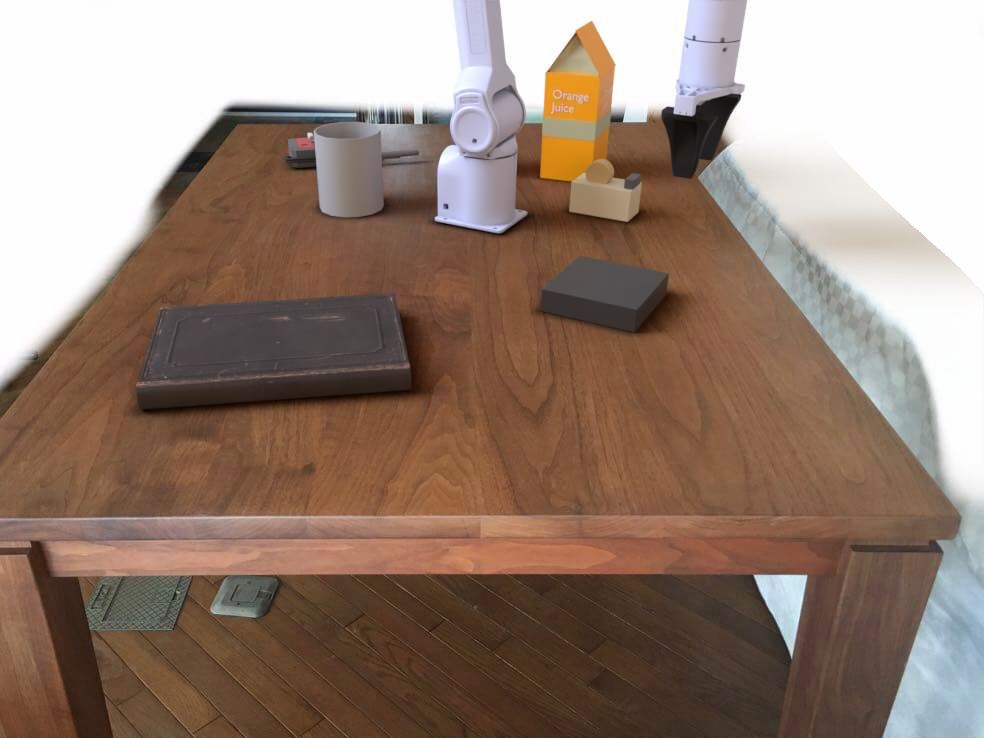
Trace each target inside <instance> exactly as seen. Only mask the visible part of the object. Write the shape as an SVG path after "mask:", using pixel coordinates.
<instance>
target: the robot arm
mask: <svg viewBox="0 0 984 738" xmlns="http://www.w3.org/2000/svg"><path fill="white" fill-rule="evenodd" d="M747 5H748V0H688V5H687V14H686V22H685V27H684V28H685V29H684V34H683V35H684V37H683V43H682V49H681V57H680V58H681V59H680V67H679V74H678V79H676V83H675V91H676V95H675V99H674V106H665V107H664V108H663V109H661V114H660V115H661V116H660V117H661V121H662V123H663V127H664V129H665V131H666V134H667V138H668V143H669V152H670V161H671V162H670V163H671V171H672V176H673V177H675V178H682V179H688V180H692V179H694V176H695V174H696V171H697V169H698V166H699V164H700V160H704V161H713V159H714V157H715V155H716V152H717V150H718V147H719V145H720V142H721V139H722V137H723V133H724V131H725V128H726V126H727V123H728V121H729V119H730V117H731V115H732V114H733V112H734V110H735V109H736V107H737V106H738V105H739V103H740V102H741V99H742V93H744V92H745V87H746V84H744V83H738V82H736V81H735V76H736V71H737V65H738V59H739V53H740V47H741V42H742V36H743V30H744V24H745V18H746V17H745V16H746V11H747ZM452 7H453V8H452V9H453V15H454V24H455V32H456V40H457V48H458V56H459V57H458V58H459V65H460V73H459V75H458V78H457V82H456V83H455V87H454V89H453V93H452V97H453V111H452V113H451V114H452V115H451V117H450V121H449V122H450V123H449V130H450V135H451V138H452V140H453V142H454V144H450V145H448V146H446V148H444V150H443V152H442V153H441V154H440V157H439V161H438V165H437V173H436V175H437V177H436V179H437V215H436V216H435V217H434V221H435V222H436V223H442V224H448V225H453V226H457V227H463V228H468V229H473V230H478V231H483V232H487V233H488V232H489V233H493V234H502V233H504V232H506V231H507V230H508V229H510V228H511V227H512V226H514V225H515V224H517V223H518V222H519V221H521V220H523V219H524V218H525V217H527V216H528V211H526V210H522V209H516V203H517V201H516V200H517V197H516V196H517V174H518V172H517V171H518V149H519V146H518V143H517V134H518V133H519V132H520V131H521V130H522V128H523V127H524V124H525V121H526V117H527V113H526V112H527V109H526V104H525V103H524V100H523V98H522V96H521V95H520V92H519V91H518V88H517V82H516V75H515V74H514V72H513V71H512V69H511V68H510V66H509V65H508V63H507V59H506V48H505V39H504V38H505V37H504V29H503V18H502V8H501V0H452Z"/></svg>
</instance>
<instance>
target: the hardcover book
mask: <svg viewBox="0 0 984 738" xmlns="http://www.w3.org/2000/svg"><path fill="white" fill-rule="evenodd" d="M403 330H404V329H403V326H402V320H401V316H400V311H399V306H398V301H397V297H396V293H395V292H392V293H390V292H389V293H374V294H373V293H372V294H358V295H357V294H356V295H340V296H326V297H325V296H323V297H309V298H294V299H293V298H291V299H277V300H261V301H260V300H259V301H243V302H227V303H210V304H194V305H192V304H191V305H179V306H178V305H177V306H161V307H160V308H159V311H158V314H157V317H156V320H155V324H154V327H153V330H152V333H151V336H150V338H149V339H150V340H149V342H148V346H147V350H146V352H145V356H144V359H143V363H142V365H141V369H140V372H139V375H138V378H137V381H136V385H135V397H136V402H137V406H138V409H139V410H155V409H157V410H158V409H169V408H182V407H196V406H197V407H199V406H208V405H209V406H211V405H223V404H238V403H251V402H264V401H279V400H291V399H305V398H317V397H318V398H319V397H320V398H321V397H333V396H346V395H359V394H360V395H361V394H373V393H387V392H398V391H399V392H400V391H411V390H412V371H411V364H410V359H409V355H408V349H407V344H406V340H405V336H404V335H405V334H404V331H403Z"/></svg>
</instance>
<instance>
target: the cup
mask: <svg viewBox="0 0 984 738" xmlns="http://www.w3.org/2000/svg"><path fill="white" fill-rule="evenodd" d="M381 130H382V129H381V128H380V127H379V126H378V125H376V124H373V123H370V122H362V121H361V122H360V121H339V122H331V123H326V124H322V125H320V126H317V127H316V128H315V129H314V130H313V136H314V140H315V153H316V165H317V167H316V177H317V188H318V201H319V202H318V203H319V208H320V210H321V212H322V213H324V214H326V215H328V216H332V217H337V218H338V217H339V218H360V217H361V218H362V217H365V216H372V215H374V214H376V213H378V212H380V211H382V210H383V208H384V206H385V203H384V178H383V177H384V176H383V175H384V174H383V159H382V152H383V151H382V131H381Z"/></svg>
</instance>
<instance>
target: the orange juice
mask: <svg viewBox="0 0 984 738" xmlns="http://www.w3.org/2000/svg"><path fill="white" fill-rule="evenodd" d="M616 66H617V64H616V62H615V61H614V59H613V57H612V55H611V54H610V52H609V49H608V48H607V46H606V44H605V42H604V40H603V38H602V36H601V35H600V33H599V31H598V29H597V27H596V25H595V24H594V21H593V20H591V21H589V22H587V23H585V24H584V25H582V26H580V27H579V28H577V29H576V30H575V32H574V33H573V35H572V36H571V38H570V39H569V41H567V43H566V45H564V47H563V49H562V50H561V51H560V52H559V54H558V55H557V57H556V58H555V60H554V61H553V63H551V65H550V67H549V68H548V69H547V70H546V71H545V73H544V75H545V77H544V93H543V94H544V96H543V97H544V98H543V111H542V112H543V114H542V125H541V126H542V128H541V152H540V153H541V154H540V173H539V178H540V179H547V180H548V179H549V180H557V181H563V182H572V181H573V180H575V179H576V178H578V177H579V176H580V175H582V174H583V173H586V169H587V167H588V166H589V165H590V164H592V163H593V162H594V161H596V160H598V159H606V160H608V158H607V157H608V148H609V138H610V137H609V135H610V127H611V118H612V104H613V103H612V102H613V92H614V81H615V69H616Z"/></svg>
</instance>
